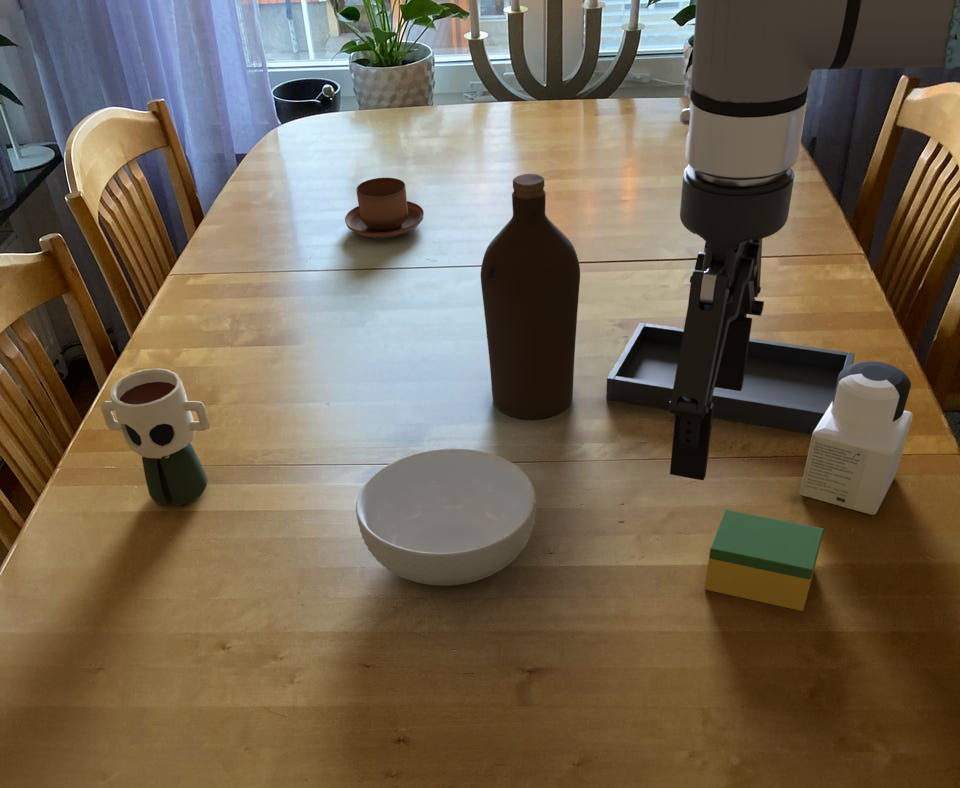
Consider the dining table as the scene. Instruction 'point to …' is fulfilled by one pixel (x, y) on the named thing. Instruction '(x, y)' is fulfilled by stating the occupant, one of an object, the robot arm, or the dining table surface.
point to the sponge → (763, 559)
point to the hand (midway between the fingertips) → (707, 428)
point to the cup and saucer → (383, 209)
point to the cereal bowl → (447, 515)
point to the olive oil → (531, 308)
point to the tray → (766, 387)
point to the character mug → (160, 431)
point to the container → (859, 438)
